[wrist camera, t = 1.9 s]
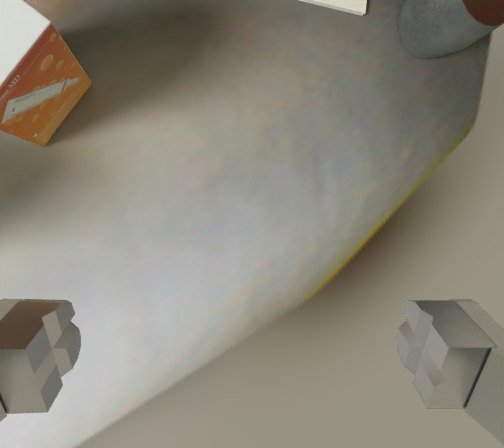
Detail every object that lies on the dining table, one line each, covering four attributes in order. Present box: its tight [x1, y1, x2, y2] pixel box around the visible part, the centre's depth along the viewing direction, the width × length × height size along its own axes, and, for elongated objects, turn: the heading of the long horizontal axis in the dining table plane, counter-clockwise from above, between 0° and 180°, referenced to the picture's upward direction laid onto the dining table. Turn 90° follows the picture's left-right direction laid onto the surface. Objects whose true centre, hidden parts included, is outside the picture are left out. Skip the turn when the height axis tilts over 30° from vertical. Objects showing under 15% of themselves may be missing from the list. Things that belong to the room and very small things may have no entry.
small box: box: [0, 0, 92, 147], centre depth 26 cm, size 8×6×13 cm
